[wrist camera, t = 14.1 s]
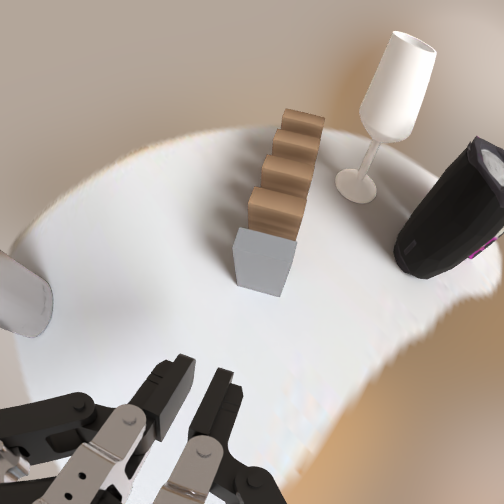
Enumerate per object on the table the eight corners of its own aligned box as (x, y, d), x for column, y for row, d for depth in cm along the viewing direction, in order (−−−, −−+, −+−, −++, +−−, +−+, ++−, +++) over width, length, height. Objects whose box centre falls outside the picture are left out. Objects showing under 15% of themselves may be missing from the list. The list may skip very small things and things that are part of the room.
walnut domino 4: (288, 261, 33) (302, 217, 24) (248, 250, 33) (247, 202, 24) (292, 247, 34) (306, 199, 25) (253, 236, 34) (254, 186, 25)
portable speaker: (433, 230, 35) (508, 145, 17) (441, 289, 31) (541, 218, 13) (387, 221, 35) (457, 118, 18) (392, 284, 32) (494, 196, 14)
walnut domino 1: (309, 179, 38) (323, 126, 29) (276, 170, 39) (282, 116, 30) (312, 169, 39) (325, 117, 30) (279, 161, 40) (285, 108, 31)
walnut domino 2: (304, 203, 37) (318, 150, 27) (268, 193, 37) (273, 139, 28) (306, 192, 37) (320, 139, 28) (272, 183, 38) (277, 128, 29)
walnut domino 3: (297, 230, 35) (311, 180, 26) (259, 220, 35) (261, 167, 26) (300, 217, 36) (314, 166, 26) (263, 208, 36) (267, 154, 27)
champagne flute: (366, 167, 40) (419, 36, 18) (383, 201, 37) (457, 66, 15) (328, 169, 39) (370, 22, 17) (343, 205, 36) (408, 49, 15)
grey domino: (279, 297, 31) (292, 263, 22) (237, 285, 32) (232, 247, 23) (284, 281, 32) (297, 241, 23) (242, 270, 32) (239, 227, 23)
